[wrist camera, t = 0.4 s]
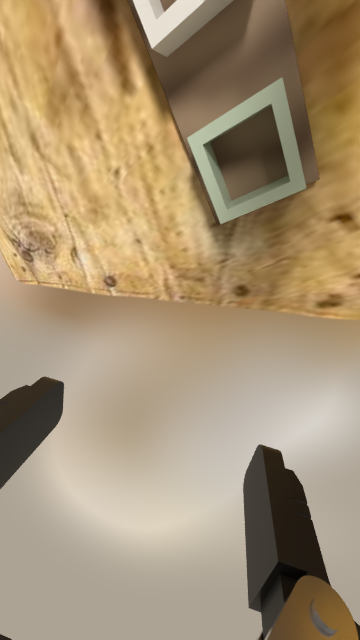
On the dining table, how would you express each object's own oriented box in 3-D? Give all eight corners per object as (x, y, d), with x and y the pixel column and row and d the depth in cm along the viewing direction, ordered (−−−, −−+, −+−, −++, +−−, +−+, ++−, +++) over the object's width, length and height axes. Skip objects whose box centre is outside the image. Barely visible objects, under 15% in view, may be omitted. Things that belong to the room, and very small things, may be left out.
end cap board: (105, -64, 22) (99, -70, 21) (237, -239, 16) (235, -256, 16) (217, 220, 34) (216, 222, 33) (318, 177, 28) (319, 179, 27)
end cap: (196, 135, 28) (186, 138, 25) (281, 82, 24) (282, 77, 21) (225, 214, 32) (220, 224, 29) (303, 180, 28) (306, 188, 25)
